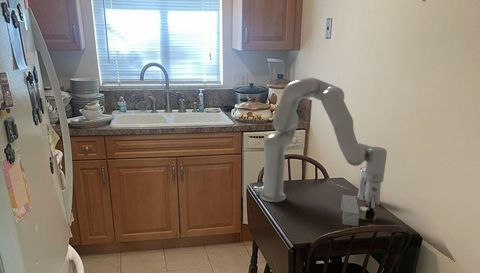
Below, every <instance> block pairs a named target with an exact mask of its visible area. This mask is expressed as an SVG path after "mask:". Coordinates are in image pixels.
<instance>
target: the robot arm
mask: <svg viewBox="0 0 480 273" xmlns="http://www.w3.org/2000/svg"><path fill="white" fill-rule="evenodd" d="M309 98H314V99H316V100H319V101H321V104H322V106H323V108H324V110H325V113H326V114H327V117H328V118H329V120H330V121H329V122H331V125H332V127H333V130H334V134H335V137H336V141H337V143H338V146H339V149H340V151H341V153H342V155H343V157H344V159H345V161H346V162H347V163H348V164H349V165H351V166H354V167H357V166H361V165H362V164H363V163H364V162H365V167H366V168H365V176H364V179H365V180H366V181H367V182H366V190H365V198H366V201H365V206H364V207H367V210H366V219H370V220H369V221H373V219H374V212H375V211H374V210H375V209H376V208H375V207H376V206H379V205H380V198H381V186H382V185H381V183H384V178H385V170H386V162H387V155H388V152H387V149H385V148H383V147H380V146H371V145H368V144H363V143H359V142H358V140H357V138H356V134H355V131H354V129H355V128H354V119H353V117H352V115H351V113H350V110H349V109H348V107H347V105H346V102H345V93H344V91H343V89H342V88H340V87H338V86H336V85H335V84H331V83H328V82H326V81H323V80H321V79H318V78H315V77H308V78H301V79H297V80H292V81H291V82H289V83H288V84H287V85H286V86H285V87H284V89H283V90H282V94H281V96H280V98H279V102H278V104H277V107H276V111H275V113H274V114H275V115H274V117H273V120H272V125H273V128H274V129H275V131H273V132H272V133H270V134H269V135H267V136H266V138H265V139H264V142H263V151H264V154H263V155H264V163H263V164H264V165H263V168H264V169H263V180H262V181H263V183H262V186H253V191H255V192H256V193H259V198H260V199H261V200H262V201H265V202H269V203H281V202H283V201H285V200H286V198H287V194H285V193H284V181H285V180H284V179H285V168H286V167H285V166H286V165H285V164H286V161H285V160H286V159H285V157H286V156H285V150H287V148H289V147H290V146H291V145H292V143H293V140H294V137H295V134H296V131H297V128H298V125H299V122H300V121H299V120H300V118H299V114H298V113H297V110H298V107H299V104H300V101H301V100H302V99H309Z"/></svg>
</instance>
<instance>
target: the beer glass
mask: <svg viewBox="0 0 480 273" xmlns="http://www.w3.org/2000/svg"><path fill="white" fill-rule="evenodd" d="M365 168H366V166H364V167H362V166H361V167H360V168H359V172H358V182H357V183H358V194H357V196H356V199H358V200H359V201H363V202H366V198H365V190H366V182H367V181H366V180H365V179H364V176H365Z"/></svg>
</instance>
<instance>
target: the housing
mask: <svg viewBox="0 0 480 273" xmlns="http://www.w3.org/2000/svg"><path fill="white" fill-rule="evenodd" d="M357 199H358V198H357V196H355V195H348V194H342V196H341V205H340V207H341V209H340V210H341V212H342V218H341V219H342V220H343V221H342V220H341V221H342V225H343V224H344V225H343V226H350V225H351V226H353V227H359V220H360V219H359V209H358V206H359V204H358V200H357ZM351 226H350V227H351Z"/></svg>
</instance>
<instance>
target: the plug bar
mask: <svg viewBox="0 0 480 273" xmlns="http://www.w3.org/2000/svg"><path fill="white" fill-rule="evenodd" d="M358 209H359V220H367V221H371V220H370V219H366V210H367V207H365V206H361V205H358ZM374 211H375V212H374V219H373V220H372V221H374V222H376V216H377V210H376V208H375V210H374Z"/></svg>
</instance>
